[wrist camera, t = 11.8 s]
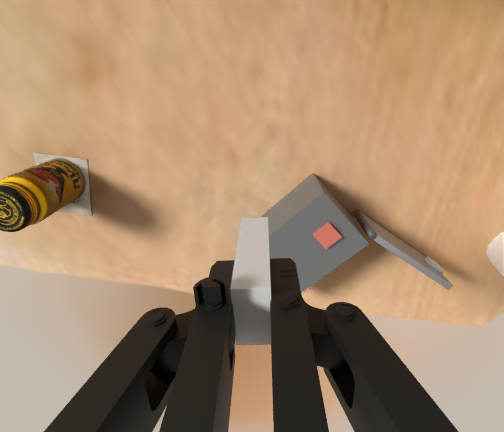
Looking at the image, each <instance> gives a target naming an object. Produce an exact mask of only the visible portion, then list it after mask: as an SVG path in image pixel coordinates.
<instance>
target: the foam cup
mask: <svg viewBox="0 0 504 432" xmlns="http://www.w3.org/2000/svg"><path fill="white" fill-rule="evenodd" d="M486 254H487V257H488V260H489V261H490V262H491V264H492V265H493V266H494V267H495V268H496V269H497V271H498V272H499V273H500V274H501V275H502V276H503V277H504V232H502V233H501V234H499V235H497V236H496V237H495V238H494V239H493V240H492V241H491V242H490V244H489V245H488V249H487V252H486Z"/></svg>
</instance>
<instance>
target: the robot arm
mask: <svg viewBox="0 0 504 432" xmlns="http://www.w3.org/2000/svg"><path fill="white" fill-rule="evenodd" d="M193 289H194V295H195V302H196V307H195V309H193V310H191V311H189V312H186V313H183V314H179V315H175V313H174V312H173V311H172V310H171V309H168V308H156V309H152V310H150V311H148V312H146V313H145V314H144V315H143V316H142V317H141V318H140V319H139V320H138V321H137V323H136V324H135V325H134V326H133V327H132V329H131V330H130V331H129V332H128V333H127V334H126V336H125V337H124V338H123V339H122V340H121V342H120V343H119V344H118V345H117V346H116V347H115V349H114V350H113V351H112V352H111V353H110V354H109V356H108V357H107V358H106V359H105V360H104V362H103V363H102V364H101V365H100V366H99V368H98V369H97V370H96V371H95V372H94V373H93V374H92V376H91V377H90V378H89V379H88V380H87V382H86V383H85V384H84V385H83V386H82V387H81V389H80V390H79V391H78V392H77V393H76V395H75V396H74V397H73V398H72V399H71V400H70V402H69V403H68V404H67V405H66V406H65V408H64V409H63V410H62V411H61V412H60V413H59V415H58V416H57V417H56V418H55V419H54V420H53V422H52V423H51V424H50V425H49V426H48V428H47V429H46V430H45V431H44V432H152V431H153V429H154V428H155V426H156V424H157V422H158V420H159V418H160V417H161V415H162V413H163V411H164V409H165V407H166V406H167V407H166V411H165V414H164V417H163V421H162V424H161V428H160V431H159V432H228V427H229V416H230V406H231V405H230V404H231V395H232V384H233V374H234V364H235V349H234V344H235V342H236V345H257V344H258V345H259V344H261V345H262V344H271V351H272V386H273V420H274V432H329V430H328V424H327V419H326V413H325V408H324V403H323V397H322V392H321V386H320V381H319V376H318V370H317V366H321V367H323V368H324V372H325V374H326V376H327V378H328V380H329V381H330V384H331V386H332V388H333V389H334V391H335V394H336V396H337V398H338V400H339V402H340V404H341V405H342V407H343V409H344V411H345V414H346V416H347V417H348V420H349V422H350V423H351V425H352V427H353V429H354V431H355V432H458V431H457V429H456V428H455V427H454V426H453V424H452V423H451V422H450V421H449V420H448V418H447V417H446V416H445V414H444V413H443V412H442V411H441V409H440V408H439V407H438V406H437V404H436V403H435V402H434V401H433V399H432V398H431V397H430V396H429V394H428V393H427V392H426V391H425V390H424V388H423V387H422V386H421V384H420V383H419V382H418V381H417V380H416V378H415V377H414V376H413V374H412V373H411V372H410V371H409V369H408V368H407V367H406V366H405V364H404V363H403V362H402V361H401V359H400V358H399V357H398V356H397V354H396V353H395V352H394V351H393V350H392V348H391V347H390V346H389V344H388V343H387V342H386V341H385V339H384V338H383V337H382V336H381V335H380V333H379V332H378V331H377V329H376V328H375V327H374V326H373V325H372V323H371V322H370V321H369V320H368V318H367V317H366V316H365V314H364V313H363V312H362V311H361V310H360V309H359V308H358V307H357V306H355V305H352V304H350V303H345V302H336V303H333V304H330V305H329V306H328V307H327V308H326V310H322V309H318V308H314V307H312V306H310V305H308V304H307V303H306V302H305V301H304V299H303V298H302V295H301V290H300V284H299V279H298V273H297V267H296V263H295V262H294V261H293V260H292V259H291V258H271V259H270V256H269V231H268V217H255V218H241V223H240V229H239V236H238V242H237V249H236V255H235V260H232V261H217V262H216V263H215V264H214V265H213V266H212V267H211V270H210V275H209V278H205V279H202V280H200V281H199V282H197V283H196V284H195V286H194V287H193Z"/></svg>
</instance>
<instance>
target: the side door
mask: <svg viewBox="0 0 504 432" xmlns="http://www.w3.org/2000/svg"><path fill="white" fill-rule="evenodd" d="M354 216H355V218H356V219H357V221H358V222H359V224H360V225H361V227H362V228H363V230H364V231H365V233H366V234H367V236H368V237H369V238H370V239H371V240H374V241H375V242H377V243H378V244H380V245H381V246H383V247H384V248H386V249H387V250H389V251H390V252H392V253H393V254H395V255H397V256H398V257H400V258H401V259H403V260H404V261H406V262H407V263H409V264H410V265H412V266H413V267H415V268H416V269H418V270H419V271H421V272H422V273H424V274H425V275H427V276H428V277H430V278H431V279H433V280H434V281H436V282H437V283H439V284H440V285H442V286H443V287H445V288H446V289H448V290H449V289H450V288H451V287H452V286H453V285H452V284H451V283H450V282H449V281H448V280H447V278H446V277H445V276H444V275H443V273H444V272H445V270H444V269H443V268H442V267H441V266H440V265H439V264H438V263H436V262H435V261H433V260H432V259H431V258H429V257H428V256H427V257H425V256H424V255H422V254H421V253H419V252H418V251H417V250H415V249H414V248H412V247H411V246H409V245H408V244H406V243H405V242H403V241H402V240H400V239H399V238H397V237H396V236H394V235H393V234H391V233H390V232H389V231H387V230H386V229H384V228H383V227H381V226H380V225H378V224H377V223H375V222H374V221H372V220H371V219H369V218H368V217H366V216H365V215H363V214H362V213H361V212H360V211H358V210H357V211H355V212H354Z"/></svg>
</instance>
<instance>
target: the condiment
mask: <svg viewBox="0 0 504 432" xmlns="http://www.w3.org/2000/svg"><path fill="white" fill-rule="evenodd" d="M33 155H34V161H35V166H33V167H31V168H28V169H25V170H24V171H22V172H19V173H15V174H12V175H10V176H8V177H6V178H4V179H2V180H1V181H0V230H1V231H7V232H15V231H19V230H21V229H23V228H25V227H26V226H29V225H32V224H36V223H38V222H40V221H42V220H44V219H45V218H47V217H48V216H50V215H52V214H53V213H54V212H56V211H58V212H67V213H75V214H84V215H91V216H92V212H91V203H90V186H89V174H88V163H87V159H80V158H73V157H65V156H57V155H48V154H39V153H33ZM77 198H78V200H77ZM76 200H77V201H76ZM75 201H76V202H75Z"/></svg>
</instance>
